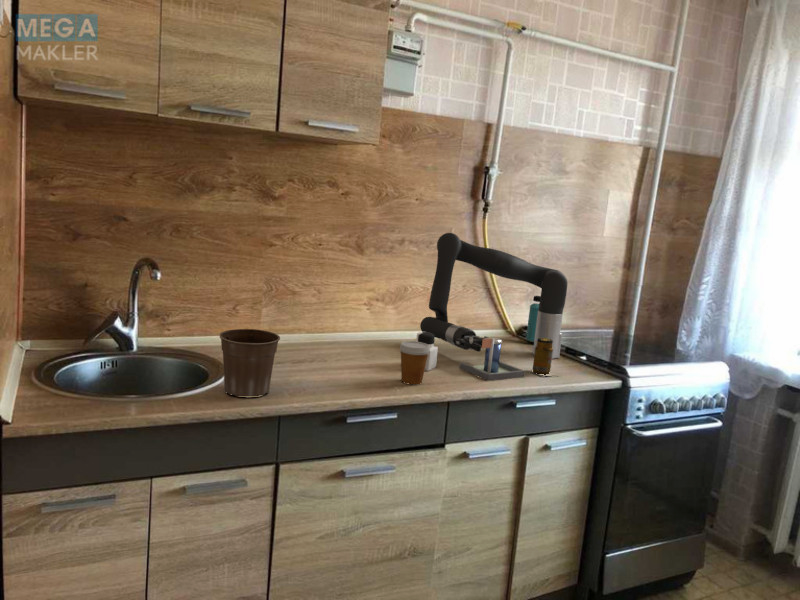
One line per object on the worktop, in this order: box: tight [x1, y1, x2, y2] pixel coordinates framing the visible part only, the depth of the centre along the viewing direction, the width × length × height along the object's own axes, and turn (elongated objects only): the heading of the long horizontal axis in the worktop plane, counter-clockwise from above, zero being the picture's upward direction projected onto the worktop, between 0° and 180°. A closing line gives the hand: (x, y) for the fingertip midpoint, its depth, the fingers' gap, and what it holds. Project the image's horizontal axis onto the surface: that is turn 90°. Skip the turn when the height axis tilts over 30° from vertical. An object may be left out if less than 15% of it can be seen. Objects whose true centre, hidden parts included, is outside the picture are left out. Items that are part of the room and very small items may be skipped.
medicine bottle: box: [415, 331, 439, 372], centre depth 227 cm, size 7×7×12 cm
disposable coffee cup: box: [398, 340, 430, 385], centre depth 209 cm, size 10×10×12 cm
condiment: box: [527, 338, 556, 378], centre depth 233 cm, size 7×8×12 cm
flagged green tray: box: [459, 337, 526, 382], centre depth 227 cm, size 15×20×14 cm
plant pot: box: [219, 328, 281, 397], centre depth 186 cm, size 16×16×16 cm
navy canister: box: [483, 337, 503, 373], centre depth 229 cm, size 5×5×11 cm
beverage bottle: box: [525, 295, 541, 342], centre depth 278 cm, size 6×7×20 cm
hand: (489, 348), depth 230 cm, fingers open, 8 cm apart
